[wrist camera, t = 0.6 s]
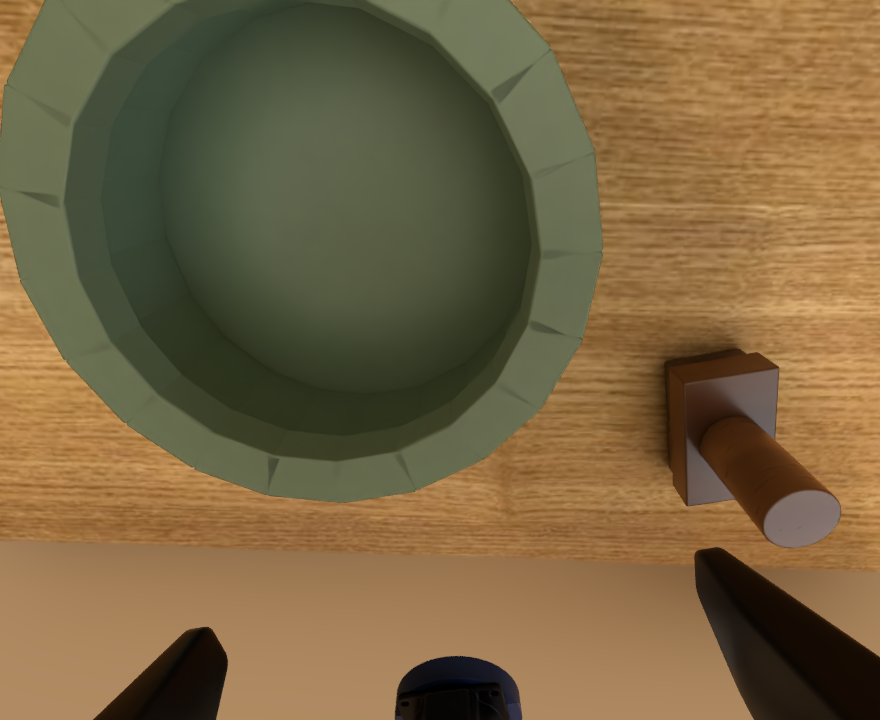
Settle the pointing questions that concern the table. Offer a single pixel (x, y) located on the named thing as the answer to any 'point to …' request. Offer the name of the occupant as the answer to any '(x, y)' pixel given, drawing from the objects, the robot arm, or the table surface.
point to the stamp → (741, 447)
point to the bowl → (304, 228)
